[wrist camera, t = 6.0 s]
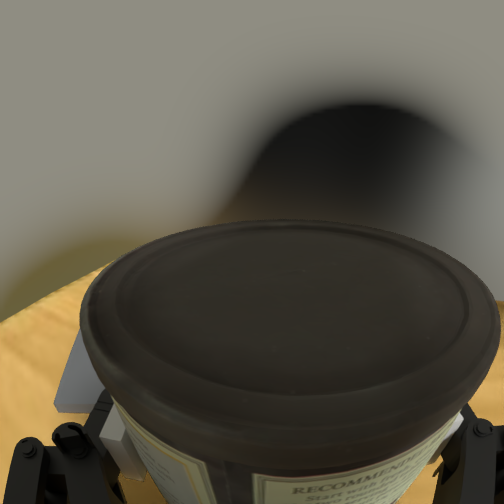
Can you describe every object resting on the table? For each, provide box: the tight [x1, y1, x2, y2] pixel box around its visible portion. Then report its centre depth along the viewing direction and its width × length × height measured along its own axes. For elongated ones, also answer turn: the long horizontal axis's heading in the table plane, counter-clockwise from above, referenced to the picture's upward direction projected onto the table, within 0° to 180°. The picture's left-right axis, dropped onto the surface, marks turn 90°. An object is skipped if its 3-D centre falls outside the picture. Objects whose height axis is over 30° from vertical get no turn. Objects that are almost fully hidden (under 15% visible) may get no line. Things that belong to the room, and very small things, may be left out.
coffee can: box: [80, 219, 501, 504], centre depth 10 cm, size 10×10×14 cm
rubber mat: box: [54, 329, 105, 413], centre depth 27 cm, size 18×18×1 cm
